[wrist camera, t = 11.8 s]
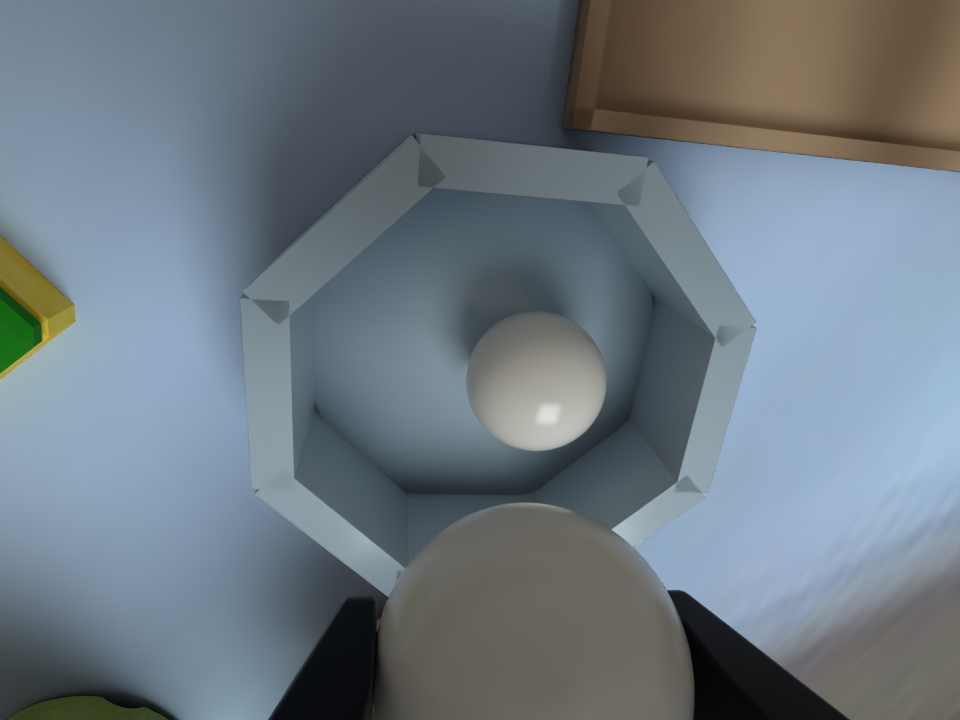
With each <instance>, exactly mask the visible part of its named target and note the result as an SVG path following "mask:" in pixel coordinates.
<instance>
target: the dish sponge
mask: <svg viewBox="0 0 960 720" xmlns="http://www.w3.org/2000/svg"><path fill="white" fill-rule="evenodd" d="M74 322H75V309H74V304H73V303H72V302H70V301H69V300H68V299H67V298H66V297H65V296H64V295H63V294H62V293H61V292H60V291H59V290H58V289H57V288H55V287H54V286H53V285H52V284H51V283H50V282H49V281H48V280H47V279H46V278H45V277H44V276H43V275H42V274H40V273H39V272H38V271H37V270H36V269H35V268H34V267H33V266H32V265H31V264H30V263H29V262H28V261H26V260H25V259H24V258H23V257H22V256H21V255H20V254H19V253H18V252H17V251H16V250H15V249H14V248H13V247H11V246H10V245H9V244H8V243H7V242H6V241H5V240H4V239H3V238H2V237H1V236H0V379H2V378H3V377H4V376H5V375H7V374H8V373H9V372H11V371H12V370H13V369H15V368H16V367H17V366H18V365H20V364H21V363H22V362H24V361H25V360H26V359H28V358H29V357H30V356H31V355H33V354H34V353H35V352H37V351H38V350H39V349H40V348H42V347H43V346H44V345H46V344H47V343H48V342H50V341H51V340H52V339H53V338H55V337H56V336H57V335H59V334H60V333H61V332H63V331H64V330H65V329H66V328H68V327H69V326H70V325H72V324H73V323H74Z"/></svg>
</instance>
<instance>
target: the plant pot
mask: <svg viewBox="0 0 960 720" xmlns="http://www.w3.org/2000/svg"><path fill="white" fill-rule="evenodd" d="M8 720H168V719H166V718H165V717H163V716H162V715H160V714H158V713H156V712H154V711H152V710H150V709H148V708H144V707H141V708H134V709H131V708H124V707H120V706H117V705H115V704H112V703H110V702H108V701H107V700H105V699H104V698H103V697H98V696H70V697H63V698H58V699H52V700H48V701H44V702H40V703H37V704H35V705H32V706H30V707H28V708H26V709H24V710H21V711H20V712H18V713H16V714H15V715H13V716H12V717H10V718H9V719H8Z"/></svg>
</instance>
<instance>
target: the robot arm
mask: <svg viewBox="0 0 960 720" xmlns="http://www.w3.org/2000/svg"><path fill="white" fill-rule="evenodd" d="M667 591H668V593H669V595H670V597H671V599H672V601H673V603H674V605H675V607H676V609H677V612H678V614H679V616H680V619H681V622H682V625H683V628H684V631H685V635H686V638H687V641H688V645H689V648H690V653H691V660H692V667H693V675H694V717H693V720H850V719H849V718H847V717H846V716H845V715H843V714H842V713H841V712H840V711H838V710H837V709H836V708H834V707H833V706H832V705H830V704H829V703H828V702H827V701H825V700H824V699H823V698H821V697H820V696H819V695H818V694H816V693H815V692H814V691H812V690H811V689H810V688H809V687H807V686H806V685H805V684H803V683H802V682H801V681H800V680H798V679H797V678H796V677H794V676H793V675H792V674H791V673H789V672H788V671H787V670H785V669H784V668H783V667H782V666H780V665H779V664H778V663H776V662H775V661H774V660H773V659H771V658H770V657H769V656H767V655H766V654H765V653H764V652H762V651H761V650H760V649H758V648H757V647H756V646H755V645H753V644H752V643H751V642H749V641H748V640H747V639H746V638H744V637H743V636H742V635H740V634H739V633H738V632H736V631H735V630H734V629H733V628H731V627H730V626H729V625H727V624H726V623H725V622H724V621H722V620H721V619H720V618H718V617H717V616H716V615H715V614H713V613H712V612H711V611H709V610H708V609H707V608H706V607H704V606H703V605H702V604H700V603H699V602H698V601H697V600H695V599H694V598H693V597H691V596H690V595H689V594H687V593H686V592H684V591H681V590H667ZM377 611H378V600H377V598H376V597H374V596H358V597H348V598H346V599H345V600H344V601H343V602H342V604H341V605H340V607H339V608H338V610H337V611H336V613H335V615H334V616H333V618H332V619H331V621H330V623H329V624H328V626H327V627H326V629H325V630H324V632H323V634H322V635H321V637H320V638H319V640H318V642H317V643H316V645H315V646H314V648H313V649H312V651H311V653H310V654H309V656H308V657H307V659H306V660H305V662H304V664H303V665H302V667H301V668H300V670H299V672H298V673H297V675H296V676H295V678H294V679H293V681H292V683H291V684H290V686H289V687H288V689H287V691H286V692H285V694H284V695H283V697H282V698H281V700H280V702H279V703H278V705H277V706H276V708H275V710H274V711H273V713H272V714H271V716H270V717H269V719H268V720H372V719H373V685H374V664H375V644H376V633H377Z"/></svg>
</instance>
